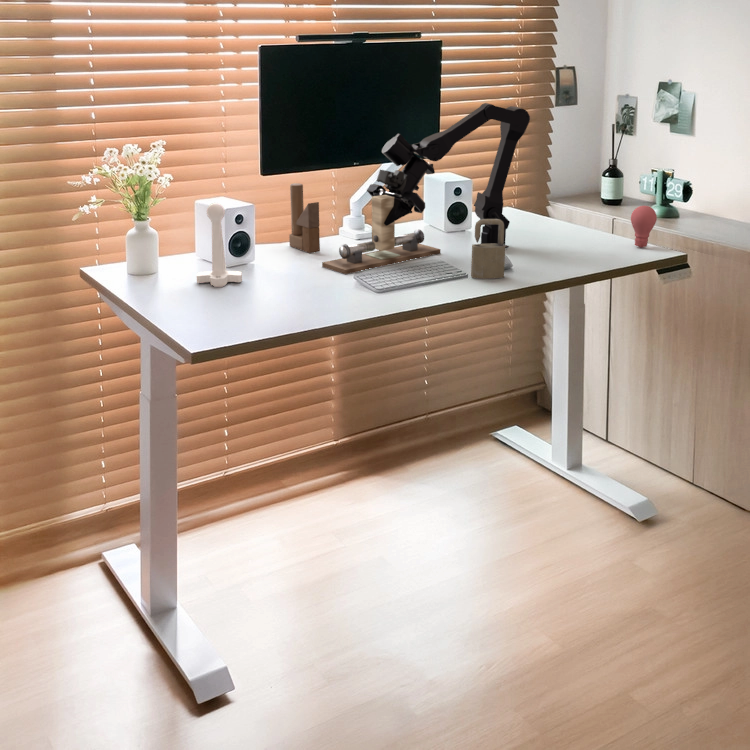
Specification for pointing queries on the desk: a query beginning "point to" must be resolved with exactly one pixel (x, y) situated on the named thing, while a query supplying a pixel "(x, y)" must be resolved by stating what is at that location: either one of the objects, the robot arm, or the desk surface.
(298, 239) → the wooden block
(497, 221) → the padlock
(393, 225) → the tan wood post
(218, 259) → the joystick
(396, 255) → the base board
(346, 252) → the shafts
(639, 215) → the light bulb
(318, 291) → the desk surface
